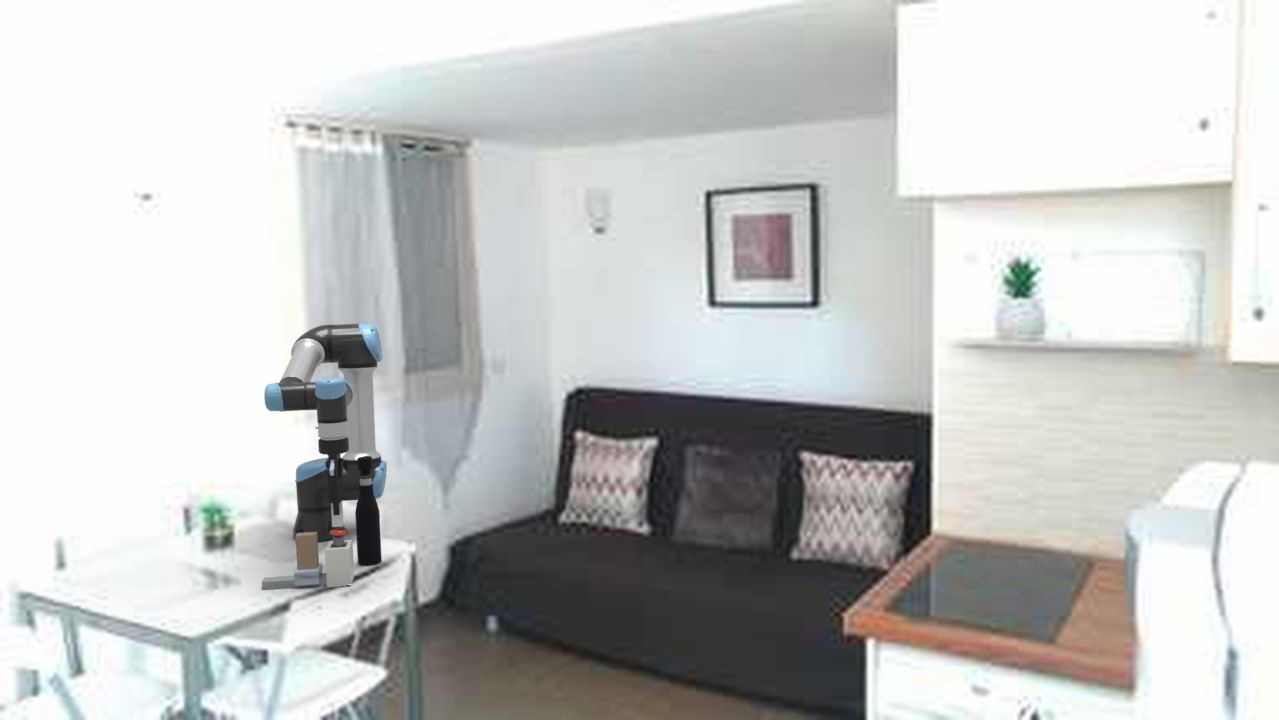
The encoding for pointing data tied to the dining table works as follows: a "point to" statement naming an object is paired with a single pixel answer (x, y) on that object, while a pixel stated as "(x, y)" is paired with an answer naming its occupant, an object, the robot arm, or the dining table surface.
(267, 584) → the rail
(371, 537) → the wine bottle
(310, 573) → the carriage
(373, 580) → the dining table surface
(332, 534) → the red mushroom push button
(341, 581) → the white button housing
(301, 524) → the robot arm
